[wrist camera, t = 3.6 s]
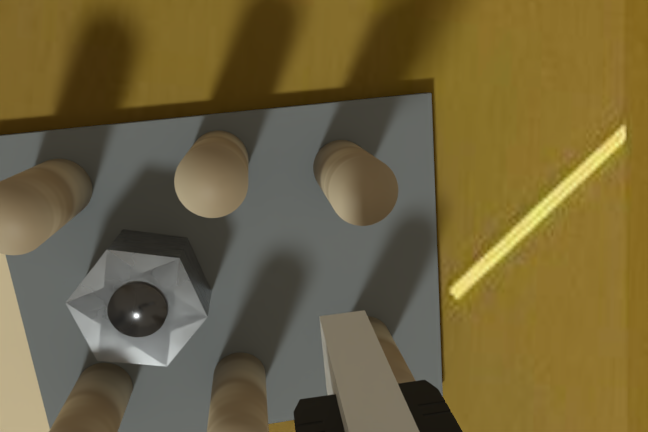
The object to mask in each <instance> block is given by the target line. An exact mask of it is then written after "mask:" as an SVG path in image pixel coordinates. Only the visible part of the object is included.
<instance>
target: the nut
mask: <svg viewBox="0 0 648 432" xmlns="http://www.w3.org/2000/svg"><path fill="white" fill-rule="evenodd" d="M211 293H212V289H211V287H210V285H209V283H208V281H207V279H206V277H205V274H204V272H203V270H202V268H201V266H200V264H199V261H198V259H197V257H196V255H195V253H194V251H193V248H192V246H191V244H190V242H189V240H188V238H187V237H181V236H173V235H165V234H157V233H149V232H141V231H133V230H125V229H123V230H122V231H121V232H120V234H119V235H118V236H117V237H116V239H115V240H114V241H113V242H112V244H111V245H110V246H109V247H108V249H107V250H106V251H105V253H104V254H103V255H102V256H101V258H100V259H99V260H98V262H97V263H96V264H95V265H94V267H93V268H92V269H91V270H90V272H89V273H88V274H87V276H86V277H85V278H84V279H83V281H82V282H81V283H80V285H79V286H78V287H77V288H76V290H75V291H74V292H73V294H72V295H71V296H70V297H69V299H68V300H67V301H66V302H65V303H66V305H67V307H68V309H69V310H70V312H71V314H72V316H73V318H74V319H75V321H76V323H77V325H78V327H79V328H80V330H81V332H82V334H83V336H84V337H85V339H86V341H87V343H88V345H89V346H90V348H91V350H92V352H93V354H94V356H95V357H96V359H97V361H107V362H119V363H131V364H142V365H154V366H165V367H167V366H168V365H169V363H170V362H171V361H172V360H173V359H174V357H175V356H176V355H177V354H178V352H179V351H180V350H181V349H182V348H183V346H184V345H185V344H186V343H187V342H188V340H189V339H190V338H191V337H192V335H193V334H194V333H195V332H196V331H197V329H198V328H199V327H200V326H201V325H202V323H203V322H204V321H205V320H206V318H207V317H208V311H209V305H210V299H211Z"/></svg>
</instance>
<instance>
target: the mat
mask: <svg viewBox="0 0 648 432" xmlns="http://www.w3.org/2000/svg"><path fill="white" fill-rule="evenodd" d="M219 130H220V131H226V132H229V133H232V134H233V135H235V136H236V137H238V138H239V139H240V140H241V141H242V142H243V144H244V145H245V147H246V150H247V153H248V190H247V194H246V197H245V199H244V201H243V202H242V204H241V205H240V206H239V207H238V208H237V209H236V210H235V211H233V212H232V213H230V214H228V215H226V216H222V217H218V218H206V217H202V216H199V215H196V214H194V213H192V212H191V211H189V210H188V209H187V208H186V207H185V206H184V205H183V204H182V203H181V201H180V200H179V198H178V196H177V193H176V190H175V185H174V177H175V172H176V169H177V167H178V165H179V163H180V162H181V160H182V159H183V158H184V156H185V155H186V154H187V152H188V151H189V150H190V148H191V147H192V146H193V144H194V143H195V142H196V141H197V139H198V138H200V137H201V136H202V135H204V134H206V133H208V132H211V131H219ZM336 140H347V141H351V142H353V143H355V144H357V145H358V146H360V147H361V148H362V149H364V150H365V151H367V152H368V153H370V154H371V155H373V156H374V157H376V158H377V159H379V160H380V161H382V162H383V163H385V164H386V165H387V166H388V167H389V168H390V169H391V170H392V171H393V173H394V175H395V177H396V179H397V183H398V198H397V201H396V204H395V206H394V208H393V210H392V211H391V212H390V213H389V215H388V216H387V217H385V218H384V219H383V220H381V221H380V222H378V223H375V224H372V225H368V226H357V225H353V224H350V223H348V222H346V221H344V220H343V219H342V218H340V217H339V216H338V214H337V213H336V212H335V210H334V209H333V207H332V205H331V204H330V202H329V201H328V199H327V197H326V196H325V194H324V193H323V191H322V189H321V188H320V186H319V184H318V183H317V181H316V179H315V176H314V172H313V164H314V160H315V157H316V155H317V153H318V152H319V150H320V149H321V148H322V147H323V146H325V145H326V144H328V143H330V142H332V141H336ZM51 159H67V160H70V161H73V162H75V163H76V164H78V165H79V166H81V167H82V168H83V169H84V170H85V171H86V173H87V174H88V176H89V177H90V180H91V183H92V197H91V200H90V202H89V203H88V205H87V206H86V207H85V208H84V209H83V210H82V211H81V212H80V213H78V214H77V215H76V216H75V217H74V218H72V219H71V220H70V221H69V222H68V223H66V224H65V225H64V226H63V227H62V228H60V229H59V230H58V231H57V232H56V233H54V234H53V235H52V236H51V237H50V238H48V239H47V240H46V241H45V242H44V243H42V244H41V245H40V246H39V247H38V248H36V249H35V250H33V251H31V252H29V253H26V254H22V255H5V254H1V253H0V432H49V431H50V429H51V427H52V425H53V423H54V422H55V420H56V418H57V416H58V414H59V413H60V411H61V409H62V407H63V405H64V404H65V402H66V400H67V398H68V396H69V395H70V393H71V391H72V389H73V387H74V386H75V384H76V382H77V380H78V378H79V377H80V375H81V373H82V372H83V371H84V370H85V369H86V368H88V367H90V366H92V365H94V364H98V363H111V364H115V365H118V366H119V367H121V368H123V369H124V370H125V371H126V372H127V373H128V374H129V376H130V378H131V380H132V384H133V389H132V394H131V396H130V399H129V402H128V405H127V407H126V410H125V413H124V416H123V418H122V421H121V424H120V427H119V429H118V432H207V426H208V417H209V409H210V400H211V391H212V383H213V374H214V370H215V367H216V366H217V364H218V363H219V362H220V361H221V360H222V359H223V358H224V357H226V356H228V355H230V354H233V353H248V354H251V355H253V356H255V357H256V358H258V359H259V360H260V361H261V363H262V364H263V366H264V368H265V374H266V393H267V411H268V424H270V423H277V422H283V421H289V420H294V410H295V408H296V406H297V404H298V402H299V400H300V399H306V398H312V397H319V396H326V395H328V394H327V388H326V378H325V368H324V358H323V348H322V338H321V328H320V318H319V316H325V315H333V314H340V313H348V312H355V311H363V310H365V312H366V314H367V316H370V317H374V318H377V319H379V320H380V321H382V322H383V323H384V324H385V325H386V327H387V329H388V330H389V332H390V334H391V336H392V338H393V340H394V342H395V343H396V345H397V347H398V349H399V351H400V353H401V355H402V356H403V358H404V360H405V362H406V364H407V366H408V368H409V369H410V371H411V373H412V375H413V377H414V379H415V381H419V380H426V381H428V382H429V383H431V384H432V385H433V386H435V387H436V388H438V390H439V391H440V393H441V395H442V396H443V393H442V366H441V339H440V311H439V284H438V257H437V230H436V203H435V176H434V148H433V121H432V94H431V93H418V94H408V95H398V96H388V97H378V98H368V99H358V100H348V101H338V102H328V103H318V104H308V105H298V106H288V107H278V108H268V109H257V110H247V111H237V112H227V113H217V114H207V115H197V116H187V117H177V118H167V119H157V120H147V121H137V122H127V123H117V124H107V125H96V126H86V127H76V128H66V129H56V130H46V131H36V132H26V133H16V134H6V135H0V181H2V180H5V179H7V178H9V177H11V176H14V175H16V174H18V173H20V172H23V171H25V170H27V169H29V168H32V167H34V166H36V165H38V164H41V163H43V162H45V161H48V160H51ZM123 229H125V230H133V231H141V232H149V233H157V234H165V235H173V236H181V237H187V238H188V240H189V242H190V244H191V246H192V248H193V251H194V253H195V255H196V257H197V259H198V261H199V264H200V266H201V268H202V270H203V272H204V274H205V277H206V279H207V281H208V283H209V285H210V287H211V289H212V293H211V299H210V305H209V311H208V317H207V318H206V320H205V321H204V322H203V323H202V325H201V326H200V327H199V328H198V329H197V331H196V332H195V333H194V334H193V335H192V337H191V338H190V339H189V340H188V342H187V343H186V344H185V345H184V346H183V348H182V349H181V350H180V351H179V352H178V354H177V355H176V356H175V357H174V359H173V360H172V361H171V362H170V363H169V365H168V366H167V367H165V366H154V365H142V364H131V363H119V362H107V361H97V359H96V357H95V356H94V354H93V352H92V350H91V348H90V346H89V345H88V343H87V341H86V339H85V337H84V336H83V334H82V332H81V330H80V328H79V327H78V325H77V323H76V321H75V319H74V318H73V316H72V314H71V312H70V310H69V309H68V307H67V305H66V303H65V302H66V301H67V300H68V299H69V297H70V296H71V295H72V294H73V292H74V291H75V290H76V288H77V287H78V286H79V285H80V283H81V282H82V281H83V279H84V278H85V277H86V276H87V274H88V273H89V272H90V270H91V269H92V268H93V267H94V265H95V264H96V263H97V262H98V260H99V259H100V258H101V256H102V255H103V254H104V253H105V251H106V250H107V249H108V247H109V246H110V245H111V244H112V242H113V241H114V240H115V239H116V237H117V236H118V235H119V234H120V232H121V231H122V230H123Z"/></svg>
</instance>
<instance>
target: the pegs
mask: <svg viewBox="0 0 648 432" xmlns="http://www.w3.org/2000/svg"><path fill="white" fill-rule="evenodd" d="M313 172H314V176H315V179H316V181H317V183H318V184H319V186H320V188H321V189H322V191H323V193H324V194H325V196H326V197H327V199H328V201H329V202H330V204H331V205H332V207H333V209H334V210H335V212H336V213H337V214H338V216H339V217H340V218H342V219H343V220H344V221H346V222H348V223H350V224H353V225H357V226H368V225H372V224H375V223H378V222H380V221H381V220H383V219H384V218H385V217H387V216H388V215H389V213H390V212H391V211H392V210H393V208H394V206H395V204H396V201H397V198H398V183H397V179H396V177H395V175H394V173H393V171H392V170H391V169H390V168H389V167H388V166H387V165H386V164H385V163H383V162H382V161H380V160H379V159H377V158H376V157H374V156H373V155H371V154H370V153H368V152H367V151H365V150H364V149H362V148H361V147H360V146H358V145H357V144H355V143H353V142H351V141H347V140H336V141H332V142H330V143H328V144H326V145H325V146H323V147H322V148H321V149H320V150H319V152H318V153H317V155H316V157H315V160H314V164H313ZM174 185H175V190H176V193H177V196H178V198H179V200H180V201H181V203H182V204H183V205H184V206H185V207H186V208H187V209H188V210H189V211H191V212H192V213H194V214H196V215H199V216H202V217H206V218H218V217H222V216H226V215H228V214H230V213H232V212H233V211H235V210H236V209H237V208H238V207H239V206H240V205H241V204H242V202H243V201H244V199H245V197H246V194H247V190H248V153H247V150H246V147H245V145H244V144H243V142H242V141H241V140H240V139H239V138H238V137H236V136H235V135H233V134H232V133H229V132H226V131H220V130H219V131H211V132H208V133H206V134H204V135H202V136H201V137H200V138H198V139H197V141H196V142H195V143H194V144H193V146H192V147H191V148H190V150H189V151H188V152H187V154H186V155H185V156H184V158H183V159H182V160H181V162H180V163H179V165H178V167H177V169H176V172H175V177H174ZM91 197H92V183H91V180H90V177H89V176H88V174H87V173H86V171H85V170H84V169H83V168H82V167H81V166H79V165H78V164H76V163H75V162H73V161H70V160H67V159H51V160H48V161H45V162H43V163H41V164H38V165H36V166H34V167H32V168H29V169H27V170H25V171H23V172H20V173H18V174H16V175H14V176H11V177H9V178H7V179H5V180H2V181H0V253H1V254H5V255H22V254H26V253H29V252H31V251H33V250H35V249H36V248H38V247H39V246H40V245H41V244H42V243H44V242H45V241H46V240H47V239H48V238H50V237H51V236H52V235H53V234H54V233H56V232H57V231H58V230H59V229H60V228H62V227H63V226H64V225H65V224H66V223H68V222H69V221H70V220H71V219H72V218H74V217H75V216H76V215H77V214H78V213H80V212H81V211H82V210H83V209H84V208H85V207H86V206H87V205H88V203H89V202H90V200H91ZM368 318H369V321H370V323H371V325H372V327H373V330H374V332H375V334H376V336H377V338H378V341H379V343H380V345H381V347H382V350H383V352H384V354H385V356H386V358H387V361H388V363H389V365H390V367H391V370H392V372H393V374H394V376H395V378H396V381H397V383H398V384H399V383H405V382H412V381H415V379H414V377H413V375H412V373H411V371H410V369H409V368H408V366H407V364H406V362H405V360H404V358H403V356H402V355H401V353H400V351H399V349H398V347H397V345H396V343H395V342H394V340H393V338H392V336H391V334H390V332H389V330H388V329H387V327H386V325H385V324H384V323H383V322H382V321H380V320H379V319H377V318H374V317H370V316H368ZM132 389H133V384H132V380H131V378H130V376H129V374H128V373H127V372H126V371H125V370H124V369H123V368H121V367H119V366H118V365H115V364H111V363H98V364H94V365H92V366H90V367H88V368H86V369H85V370H84V371H83V372H82V373H81V375H80V377H79V378H78V380H77V382H76V384H75V386H74V387H73V389H72V391H71V393H70V395H69V396H68V398H67V400H66V402H65V404H64V405H63V407H62V409H61V411H60V413H59V414H58V416H57V418H56V420H55V422H54V423H53V425H52V427H51V429H50V431H49V432H118V429H119V427H120V424H121V421H122V418H123V416H124V413H125V410H126V407H127V405H128V402H129V399H130V396H131V394H132ZM207 432H269V429H268V411H267V393H266V374H265V368H264V366H263V364H262V363H261V361H260V360H259V359H258V358H256V357H255V356H253V355H251V354H248V353H233V354H230V355H228V356H226V357H224V358H223V359H222V360H221V361H220V362H219V363H218V364H217V366H216V367H215V370H214V374H213V383H212V391H211V400H210V409H209V417H208V426H207Z"/></svg>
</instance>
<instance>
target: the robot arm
mask: <svg viewBox="0 0 648 432" xmlns="http://www.w3.org/2000/svg"><path fill="white" fill-rule="evenodd" d="M319 318H320V328H321V338H322V348H323V358H324V368H325V378H326V388H327V394H328V395H326V396H319V397H312V398H306V399H300V400H299V402H298V404H297V406H296V408H295V410H294V421H295V430H296V432H462V430H461V428H460V427H459V425H458V423H457V421H456V419H455V418H454V416H453V414H452V413H451V412H450V409H449V407H448V405H447V404H446V403H445V400H444V398H443V397H442V395H441V393H440V391H439V390H438V388H436V387H435V386H433V385H432V384H431V383H429V382H428V381H426V380H419V381H412V382H405V383H399V384H398V383H397V381H396V378H395V376H394V374H393V372H392V370H391V367H390V365H389V363H388V361H387V358H386V356H385V354H384V352H383V350H382V347H381V345H380V343H379V341H378V338H377V336H376V334H375V332H374V330H373V327H372V325H371V323H370V321H369V318H368V316H367V314H366V312H365V310H363V311H355V312H348V313H340V314H333V315H325V316H319Z"/></svg>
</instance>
